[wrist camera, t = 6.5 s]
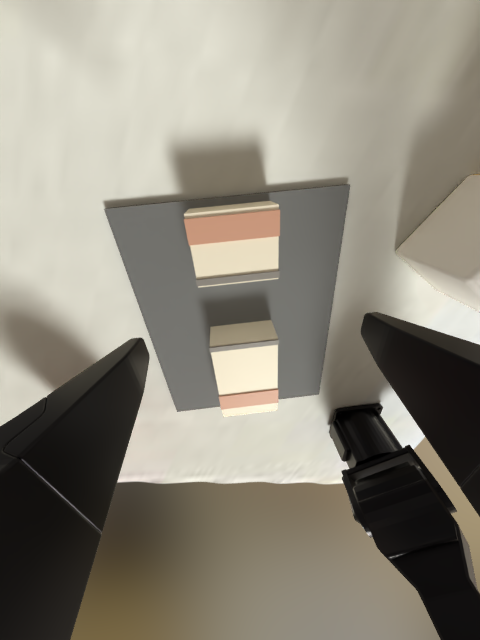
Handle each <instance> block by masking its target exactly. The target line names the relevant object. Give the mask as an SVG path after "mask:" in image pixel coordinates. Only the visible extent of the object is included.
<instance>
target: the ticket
mask: <svg viewBox="0 0 480 640" xmlns="http://www.w3.org/2000/svg"><path fill="white" fill-rule="evenodd" d="M278 345H279V339H278V337H277V334H276V331H275V329H274V326H273V323H272V321H271V320H266V321H257V322H248V323H239V324H230V325H221V326H213V327H210V347H209V350H210V353H211V356H212V361H213V366H214V371H215V376H216V382H217V387H218V392H219V401H220V406H221V410H222V412H223V417H229V416H237V415H245V414H253V413H261V412H269V411H277V403H278Z"/></svg>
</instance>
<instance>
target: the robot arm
mask: <svg viewBox="0 0 480 640" xmlns="http://www.w3.org/2000/svg"><path fill="white" fill-rule="evenodd" d="M361 335H362V337H363V339H364V341H365V343H366V345H367V347H368V349H369V351H370V353H371V354H372V356H373V358H374V360H375V362H376V364H377V365H378V367H379V369H380V370H381V372H382V373H383V375H384V376H385V378H386V379H387V381H388V382H389V383H390V385H391V386H392V388H393V389H394V391H395V392H396V394H397V395H398V397H399V398H400V400H401V401H402V403H403V404H404V406H405V407H406V409H407V410H408V412H409V413H410V414H411V416H412V417H413V419H414V420H415V422H416V423H417V425H418V426H419V428H420V429H421V431H422V432H423V434H424V435H425V437H426V438H427V439H428V441H429V442H430V444H431V445H432V447H433V448H434V450H435V451H436V453H437V454H438V456H439V457H440V459H441V460H442V461H443V463H444V465H445V466H446V468H447V469H448V470H449V472H450V473H451V475H452V476H453V477H454V479H455V481H456V482H457V484H458V485H459V486H460V488H461V490H462V491H463V493H464V494H465V496H466V497H467V499H468V500H469V502H470V503H471V505H472V506H473V508H474V509H475V511H476V512H477V513H478V515H479V516H480V345H479V344H475V343H472V342H469V341H466V340H463V339H460V338H457V337H453V336H450V335H447V334H444V333H441V332H438V331H435V330H432V329H428V328H425V327H422V326H419V325H416V324H413V323H410V322H406V321H403V320H400V319H397V318H394V317H391V316H388V315H385V314H381V313H378V312H372V313H366V314H365V316H364V319H363V323H362V327H361ZM148 364H149V353H148V350H147V347H146V345H145V342H144V340H143V339H142V338H133V339H130V340H129V341H127V342H126V343H124V344H123V345H121V346H120V347H118V348H117V349H115V350H114V351H112V352H111V353H109V354H108V355H106V356H105V357H104V358H102V359H101V360H99V361H98V362H96V363H95V364H93V365H92V366H90V367H89V368H87V369H86V370H84V371H83V372H81V373H80V374H79V375H77V376H76V377H74V378H73V379H71V380H70V381H68V382H67V383H65V384H64V385H62V386H61V387H59V388H58V389H56V390H55V391H54V392H52V393H51V394H49V395H48V396H47V397H45V398H43V399H42V400H40V401H39V402H37V403H36V404H34V405H33V406H31V407H30V408H28V409H27V410H25V411H24V412H22V413H21V414H19V415H18V416H16V417H15V418H13V419H12V420H10V421H8V422H7V423H5V424H4V425H2V426H0V640H70V639H71V635H72V632H73V629H74V625H75V622H76V618H77V615H78V612H79V609H80V605H81V602H82V598H83V595H84V592H85V588H86V585H87V582H88V578H89V575H90V572H91V568H92V565H93V562H94V558H95V554H96V552H97V548H98V545H99V541H100V538H101V532H102V530H103V527H104V524H105V521H106V517H107V514H108V510H109V507H110V504H111V501H112V497H113V494H114V490H115V487H116V484H117V480H118V477H119V474H120V470H121V467H122V464H123V460H124V457H125V454H126V450H127V447H128V443H129V440H130V437H131V433H132V430H133V427H134V423H135V420H136V417H137V413H138V410H139V407H140V403H141V400H142V396H143V393H144V388H145V382H146V376H147V370H148ZM382 409H383V407H382V406H381V404H373V405H365V406H357V407H349V408H341V409H337V410H335V413H334V418H333V422H332V424H331V429H330V437H331V438H332V439H333V441H334V444H335V446H336V448H337V451H338V453H339V455H340V457H341V460H342V461H346V462H347V464H348V466H349V468H350V469H348V470H346V469H345V470H343V471H342V474H343V477H342V480H343V482H344V485H345V487H346V490H347V493H348V496H349V500H350V504H351V508H352V512H353V516H354V519H355V520H356V521H357V522H358V523H360V524H361V525H362V527H363V528H364V529H365V531H366V533H367V534H368V536H369V537H373V539H374V541H375V543H376V545H377V547H378V549H379V550H380V552H381V553H382V554H383V555H384V556H385V557H386V558H387V559H388V560H389V561H390V562H391V563H392V564H393V565H394V566H395V567H396V568H397V569H398V571H400V573H401V574H402V575H403V576H404V577H405V578H406V579H407V580H408V581H409V582H410V583H411V584H412V585H413V586H414V587H415V588H416V590H417V591H418V593H419V595H420V597H421V599H422V601H423V603H424V605H425V607H426V609H427V612H428V614H429V616H430V618H431V620H432V622H433V624H434V626H435V628H436V630H437V633H438V635H439V637H440V639H441V640H480V593H479V592H478V589H477V585H476V580H475V574H474V569H473V565H472V559H471V554H470V549H469V544H468V542H467V541H466V539H465V537H464V535H463V533H462V531H461V529H460V527H459V526H458V524H457V522H456V521H455V519H454V518H453V517H452V515H451V513H454V512H457V510H456V508H455V507H454V505H453V504H452V502H451V501H450V499H449V498H448V496H447V495H446V493H445V492H444V491H443V489H442V488H441V486H440V485H439V483H438V482H437V481H436V480H435V478H434V477H433V475H432V474H431V473H430V472H429V470H428V469H427V467H426V466H425V465H424V464H423V462H422V461H421V459H420V458H419V457H418V455H417V454H416V453H415V452H414V450H413V449H412V448H411V446H410V445H407V446H405V448H402V446H401V445H400V443H399V442H398V440H397V439H396V437H395V436H394V434H393V433H392V432H391V430H390V429H389V427H388V426H387V424H386V423H385V421H384V420H383V418H382V417H381V416H380V414H381V411H382Z"/></svg>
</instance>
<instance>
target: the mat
mask: <svg viewBox="0 0 480 640" xmlns="http://www.w3.org/2000/svg"><path fill="white" fill-rule="evenodd" d="M349 190H350V185H348V184H347V185H337V186H327V187H317V188H307V189H297V190H287V191H277V192H267V193H257V194H247V195H237V196H227V197H217V198H206V199H196V200H186V201H176V202H166V203H156V204H146V205H136V206H126V207H116V208H106V209H104V210H105V213H106V216H107V219H108V221H109V224H110V227H111V230H112V232H113V235H114V238H115V241H116V243H117V246H118V249H119V252H120V255H121V257H122V260H123V263H124V266H125V268H126V271H127V274H128V277H129V280H130V282H131V285H132V288H133V291H134V293H135V296H136V299H137V302H138V304H139V307H140V310H141V313H142V316H143V318H144V321H145V324H146V327H147V329H148V332H149V335H150V338H151V341H152V343H153V346H154V349H155V352H156V354H157V357H158V360H159V363H160V365H161V368H162V371H163V374H164V377H165V379H166V382H167V385H168V388H169V390H170V393H171V396H172V399H173V402H174V404H175V407H176V410H177V412H179V411H187V410H195V409H204V408H212V407H220V401H219V392H218V387H217V382H216V376H215V371H214V366H213V361H212V356H211V353H210V350H209V347H210V327H213V326H221V325H230V324H239V323H248V322H257V321H266V320H271V321H272V323H273V326H274V329H275V331H276V334H277V337H278V339H279V345H278V399H285V398H293V397H302V396H310V395H318V394H319V390H320V383H321V377H322V370H323V363H324V357H325V350H326V343H327V337H328V330H329V323H330V317H331V310H332V303H333V297H334V290H335V283H336V276H337V270H338V263H339V256H340V250H341V243H342V236H343V230H344V223H345V216H346V210H347V203H348V196H349ZM262 201H272V202H274V203H277V204H279V209H280V236H279V258H278V270H279V271H280V277H279V278H278V279H273V280H264V281H254V282H245V283H236V284H227V285H218V286H209V287H199V288H198V287H197V284H196V274H195V269H194V263H193V258H192V253H191V248H190V246H189V244H188V239H187V233H186V228H185V223H184V219H185V217H184V213H185V212H186V211H187V210H188V209H192V208H202V207H212V206H222V205H232V204H242V203H252V202H262Z"/></svg>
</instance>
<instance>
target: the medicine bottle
mask: <svg viewBox="0 0 480 640" xmlns="http://www.w3.org/2000/svg"><path fill="white" fill-rule="evenodd" d="M396 254H397V255H398V256H399V257H400V258H401V259H402V260H403V261H404V262H405V263H407V264H408V265H409V266H410V267H411V268H412V269H413V270H414V271H415V272H416V273H417V274H418V275H420V276H421V277H422V278H423V279H424V280H425V281H426V282H427V283H428V284H429V285H430V286H431V287H433V288H434V289H435V290H436V291H438V292H440V293H442V294H444V295H446V296H448V297H450V298H452V299H454V300H456V301H458V302H460V303H462V304H464V305H466V306H468V307H469V308H471V309H473V310H475V311H477V312H479V313H480V174H473V175H469V176H468V177H466V179H465V180H464V181H463V182H462V183H461V184H460V185H459V186H458V187H457V188H456V189H455V190H454V191H453V192H452V193H451V194H450V195H449V196H448V197H447V198H446V199H445V200H444V201H443V202H442V203H441V204H440V205H439V206H438V207H437V208H436V209H435V210H434V211H433V213H432V214H431V215H430V216H429V217H428V218H427V219H426V220H425V221H424V222H423V223H422V224H421V225H420V226H419V227H418V228H417V229H416V230H415V231H414V232H413V233H412V234H411V235H410V236H409V237H408V238H407V239H406V240H405V241H404V242H403V243H402V244H401V245H400V246H399V248H398V249H397V250H396Z"/></svg>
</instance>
